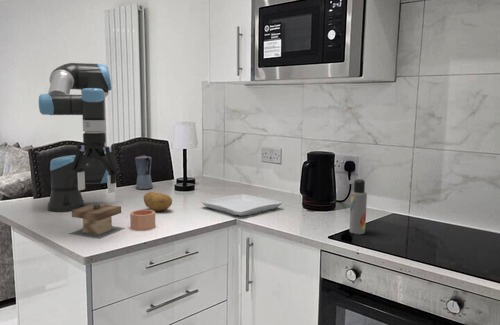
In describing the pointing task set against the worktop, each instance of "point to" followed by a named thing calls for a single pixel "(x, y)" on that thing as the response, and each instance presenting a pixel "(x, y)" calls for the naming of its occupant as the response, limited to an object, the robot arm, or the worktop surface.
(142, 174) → the moka pot
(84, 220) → the pedestal
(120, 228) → the mat
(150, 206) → the potato
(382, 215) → the worktop surface
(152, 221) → the bowl
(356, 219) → the lotion bottle
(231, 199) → the square plate
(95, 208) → the lid
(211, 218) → the worktop surface
